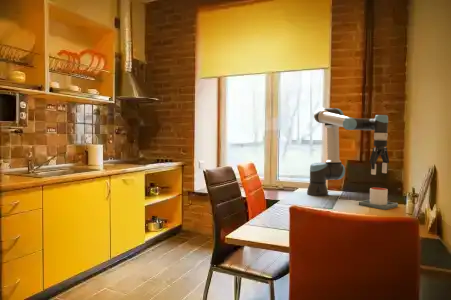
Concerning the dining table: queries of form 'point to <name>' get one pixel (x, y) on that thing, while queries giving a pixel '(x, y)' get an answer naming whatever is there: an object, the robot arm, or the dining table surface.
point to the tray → (368, 204)
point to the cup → (378, 196)
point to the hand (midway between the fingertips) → (378, 173)
